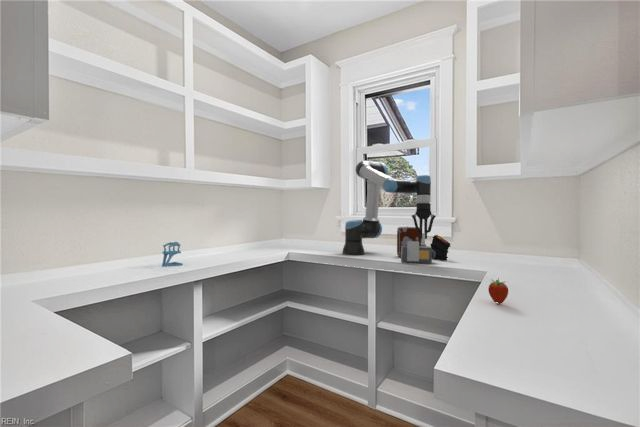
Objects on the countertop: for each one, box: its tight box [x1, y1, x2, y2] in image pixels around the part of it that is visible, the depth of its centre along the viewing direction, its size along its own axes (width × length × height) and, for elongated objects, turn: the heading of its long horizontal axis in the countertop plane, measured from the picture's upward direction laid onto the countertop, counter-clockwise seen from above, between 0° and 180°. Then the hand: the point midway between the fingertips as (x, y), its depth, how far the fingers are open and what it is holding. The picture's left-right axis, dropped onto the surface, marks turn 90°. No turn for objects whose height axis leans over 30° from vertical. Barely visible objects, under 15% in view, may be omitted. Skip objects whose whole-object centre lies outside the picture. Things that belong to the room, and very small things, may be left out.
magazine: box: [430, 234, 451, 262], centre depth 192 cm, size 4×13×15 cm, turn 29°
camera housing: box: [400, 245, 435, 265], centre depth 180 cm, size 18×10×10 cm, turn 80°
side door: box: [407, 241, 419, 261], centre depth 176 cm, size 6×1×11 cm, turn 80°
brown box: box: [396, 225, 427, 258], centre depth 203 cm, size 9×19×20 cm, turn 89°
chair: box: [161, 241, 184, 267], centre depth 160 cm, size 8×8×12 cm
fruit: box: [488, 277, 509, 304], centre depth 97 cm, size 5×5×8 cm
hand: (423, 244), depth 175 cm, fingers closed
